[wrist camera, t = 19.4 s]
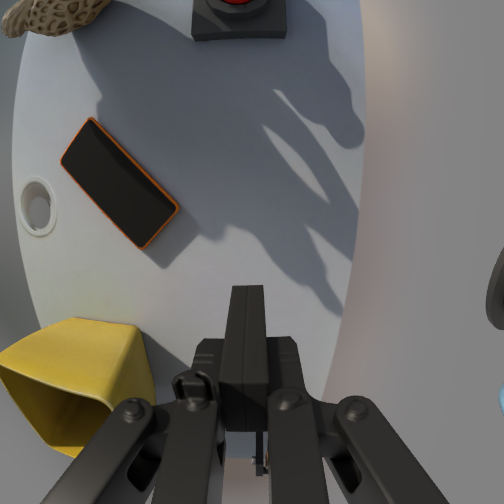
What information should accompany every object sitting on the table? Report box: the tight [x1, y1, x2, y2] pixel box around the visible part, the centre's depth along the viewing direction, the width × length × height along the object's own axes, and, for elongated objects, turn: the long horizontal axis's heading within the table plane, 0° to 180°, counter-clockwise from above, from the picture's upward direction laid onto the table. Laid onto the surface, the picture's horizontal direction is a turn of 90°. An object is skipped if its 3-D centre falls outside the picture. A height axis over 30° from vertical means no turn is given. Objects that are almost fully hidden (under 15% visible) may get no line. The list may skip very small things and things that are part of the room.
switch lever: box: [263, 451, 269, 474], centre depth 34 cm, size 12×5×2 cm, turn 1°
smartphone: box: [60, 117, 179, 250], centre depth 30 cm, size 8×17×1 cm, turn 44°
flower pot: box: [0, 317, 156, 458], centre depth 31 cm, size 19×19×17 cm
